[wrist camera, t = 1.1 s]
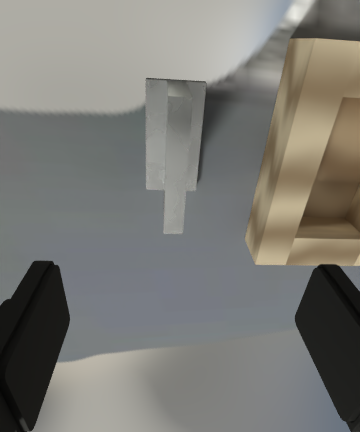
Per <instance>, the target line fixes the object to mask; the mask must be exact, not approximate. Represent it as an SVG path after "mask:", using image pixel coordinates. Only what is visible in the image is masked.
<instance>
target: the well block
mask: <svg viewBox="0 0 360 432" xmlns="http://www.w3.org/2000/svg"><path fill="white" fill-rule="evenodd" d="M245 240H246V243H247V245H248V248H249V250H250V253H251V255H252V258H253V260H254V262H255V265H320V264H336V265H338V266H360V41H346V40H332V39H319V38H296V39H290V41H289V45H288V50H287V54H286V59H285V63H284V67H283V72H282V76H281V81H280V85H279V90H278V94H277V99H276V103H275V107H274V112H273V116H272V121H271V125H270V130H269V134H268V138H267V143H266V147H265V152H264V156H263V161H262V165H261V170H260V174H259V178H258V183H257V187H256V192H255V196H254V201H253V205H252V210H251V214H250V218H249V223H248V227H247V232H246V236H245Z"/></svg>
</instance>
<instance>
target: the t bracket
mask: <svg viewBox="0 0 360 432" xmlns="http://www.w3.org/2000/svg"><path fill="white" fill-rule="evenodd" d="M205 93H206V82H205V81H188V80H171V79H156V78H146V190H164V234H183V223H184V211H185V198H186V191H196V184H197V174H198V164H199V154H200V144H201V134H202V124H203V113H204V103H205Z"/></svg>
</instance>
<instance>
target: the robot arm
mask: <svg viewBox="0 0 360 432" xmlns="http://www.w3.org/2000/svg"><path fill="white" fill-rule="evenodd" d="M69 322H70V315H69V310H68V306H67V301H66V296H65V292H64V287H63V283H62V278H61V273H60V269H59V266H58V265H54V263H53V261H34V262H33V263H32V264H31V266H30V268H29V269H28V271H27V273H26V274H25V276H24V278H23V279H22V281H21V283H20V284H19V286H18V288H17V289H16V291H15V293H14V294H13V296H12V298H11V299H7V300H5V301H4V302H3V303H2V304H1V306H0V432H27V431H32V430H33V428H34V426H35V424H36V421H37V418H38V415H39V412H40V409H41V406H42V403H43V400H44V397H45V394H46V391H47V388H48V386H49V383H50V380H51V377H52V374H53V371H54V368H55V365H56V362H57V359H58V356H59V353H60V350H61V347H62V344H63V341H64V338H65V336H66V333H67V330H68V327H69ZM295 323H296V326H297V328H298V330H299V332H300V334H301V336H302V338H303V341H304V342H305V345H306V347H307V349H308V351H309V353H310V355H311V357H312V359H313V362H314V364H315V366H316V368H317V370H318V372H319V374H320V376H321V378H322V381H323V383H324V385H325V387H326V389H327V391H328V393H329V395H330V397H331V399H332V402H333V404H334V406H335V408H336V410H337V412H338V414H339V416H340V418H342V420H343V421H346V422H347V424H348V427H349V429H350V431H351V432H360V292H359V290H358V289H357V288H356V287H355V285H354V284H353V283H352V282H351V280H350V279H349V278H348V277H347V275H346V274H345V273H344V272H343V270H342V269H341V268H340V267H339V266H338V265H336V264H320V265H318V267H317V268H315V269H314V270H313V272H312V275H311V277H310V280H309V282H308V285H307V287H306V290H305V292H304V295H303V297H302V300H301V302H300V305H299V307H298V310H297V312H296V315H295Z"/></svg>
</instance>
